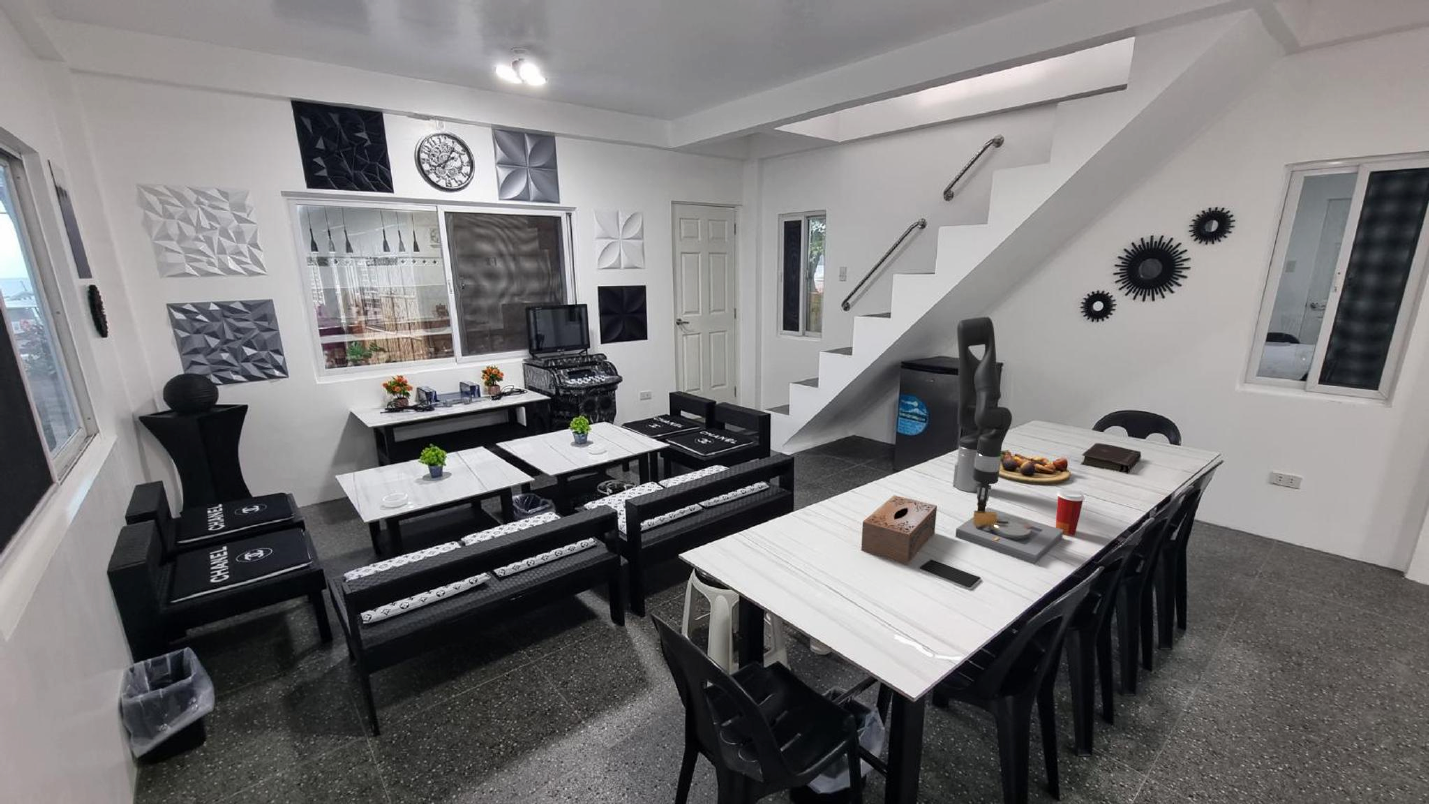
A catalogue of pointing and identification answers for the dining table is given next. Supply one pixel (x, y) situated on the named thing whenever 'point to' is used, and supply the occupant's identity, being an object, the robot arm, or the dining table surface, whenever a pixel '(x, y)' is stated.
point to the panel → (1024, 550)
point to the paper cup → (1068, 510)
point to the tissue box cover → (899, 529)
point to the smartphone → (950, 574)
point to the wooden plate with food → (1033, 469)
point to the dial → (1003, 525)
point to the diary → (1111, 457)
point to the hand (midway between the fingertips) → (980, 515)
